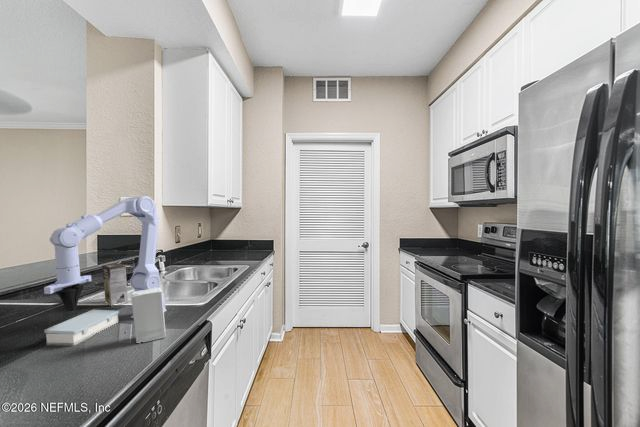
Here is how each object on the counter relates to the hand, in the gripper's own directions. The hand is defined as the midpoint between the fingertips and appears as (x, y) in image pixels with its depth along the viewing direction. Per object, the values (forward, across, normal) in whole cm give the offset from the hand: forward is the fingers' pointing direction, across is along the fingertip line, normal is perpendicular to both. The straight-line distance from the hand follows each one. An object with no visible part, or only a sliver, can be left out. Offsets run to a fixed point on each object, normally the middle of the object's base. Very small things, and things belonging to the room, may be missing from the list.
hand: (71, 310), depth 101 cm
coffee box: (+10, -36, -14) cm, 40 cm away
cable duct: (+9, -5, -1) cm, 11 cm away
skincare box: (+10, -2, +24) cm, 26 cm away
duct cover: (+6, -5, -1) cm, 8 cm away
